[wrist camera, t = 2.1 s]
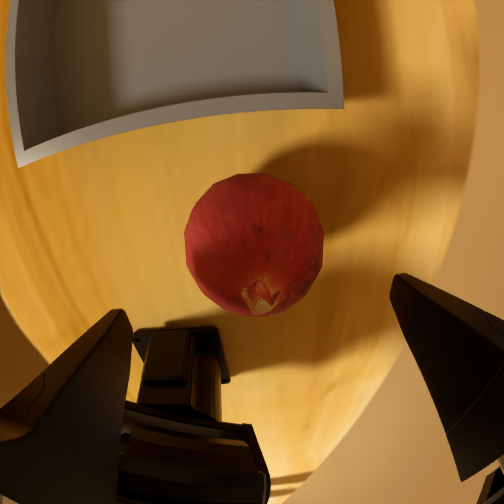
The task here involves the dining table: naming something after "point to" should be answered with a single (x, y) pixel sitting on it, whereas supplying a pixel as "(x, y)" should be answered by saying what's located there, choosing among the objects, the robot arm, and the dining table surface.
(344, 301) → the dining table surface
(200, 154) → the dining table surface
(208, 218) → the onion
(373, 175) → the dining table surface
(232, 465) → the robot arm
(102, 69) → the bin
